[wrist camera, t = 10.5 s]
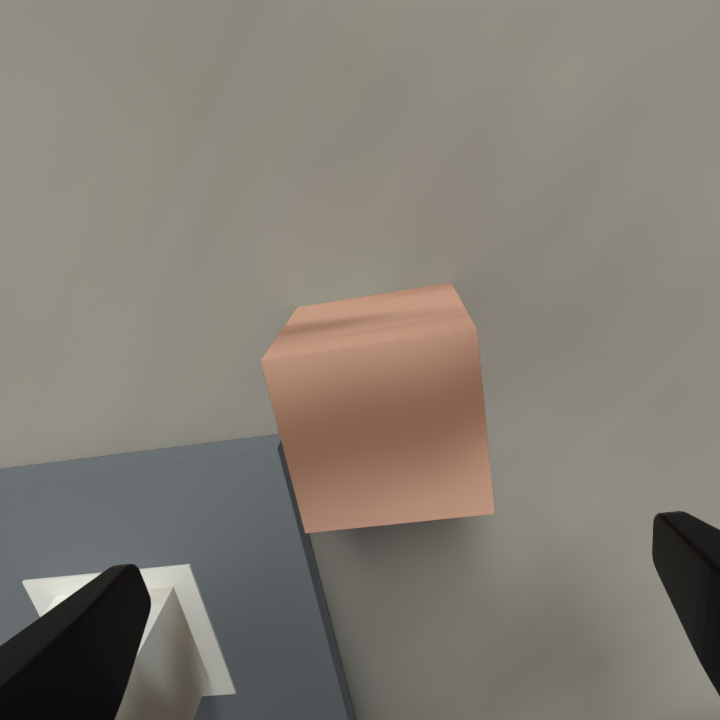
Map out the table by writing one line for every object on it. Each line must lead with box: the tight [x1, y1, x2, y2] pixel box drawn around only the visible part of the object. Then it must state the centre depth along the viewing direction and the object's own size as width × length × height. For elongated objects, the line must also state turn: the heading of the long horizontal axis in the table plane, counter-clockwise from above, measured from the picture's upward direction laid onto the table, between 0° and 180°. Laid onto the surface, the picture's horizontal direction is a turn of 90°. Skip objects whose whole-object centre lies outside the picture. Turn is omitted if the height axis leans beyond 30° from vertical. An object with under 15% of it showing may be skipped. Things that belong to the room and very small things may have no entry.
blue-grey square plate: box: [0, 434, 356, 720], centre depth 21 cm, size 16×16×1 cm
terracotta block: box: [261, 283, 495, 533], centre depth 14 cm, size 5×5×5 cm
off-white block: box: [41, 586, 209, 720], centre depth 18 cm, size 5×5×5 cm
